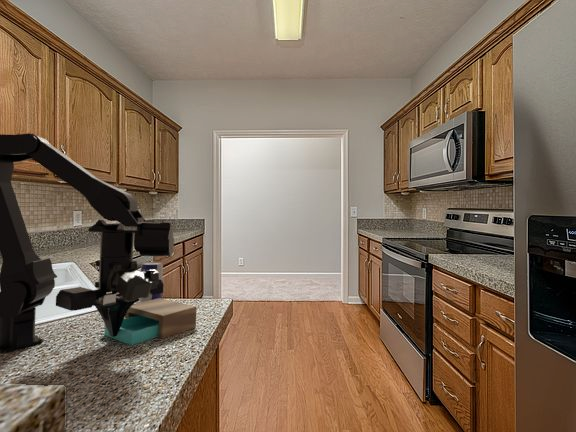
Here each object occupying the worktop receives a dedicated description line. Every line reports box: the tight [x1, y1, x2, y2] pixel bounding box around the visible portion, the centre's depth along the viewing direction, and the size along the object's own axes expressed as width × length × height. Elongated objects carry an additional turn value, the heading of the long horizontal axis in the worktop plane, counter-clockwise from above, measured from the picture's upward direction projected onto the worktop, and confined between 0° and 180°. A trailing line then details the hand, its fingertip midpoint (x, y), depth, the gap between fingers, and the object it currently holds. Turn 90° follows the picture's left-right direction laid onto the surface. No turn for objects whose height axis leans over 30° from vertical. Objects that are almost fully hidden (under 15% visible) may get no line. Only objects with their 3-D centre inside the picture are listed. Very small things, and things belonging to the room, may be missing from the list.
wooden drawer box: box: [124, 298, 197, 340], centre depth 76 cm, size 12×9×5 cm
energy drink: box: [139, 261, 164, 303], centre depth 90 cm, size 5×5×12 cm
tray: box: [104, 315, 159, 346], centre depth 72 cm, size 9×12×2 cm
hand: (113, 336), depth 66 cm, fingers closed
